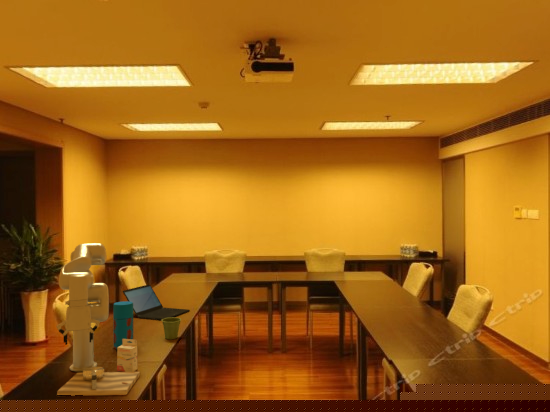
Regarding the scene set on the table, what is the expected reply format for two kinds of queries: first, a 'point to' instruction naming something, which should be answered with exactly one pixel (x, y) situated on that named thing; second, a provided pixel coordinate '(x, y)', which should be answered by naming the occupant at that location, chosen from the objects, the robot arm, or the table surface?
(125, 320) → the thermos
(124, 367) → the ink cartridge box
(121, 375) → the base plate
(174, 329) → the plant pot
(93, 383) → the small saucepan
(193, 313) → the table surface
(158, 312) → the laptop
